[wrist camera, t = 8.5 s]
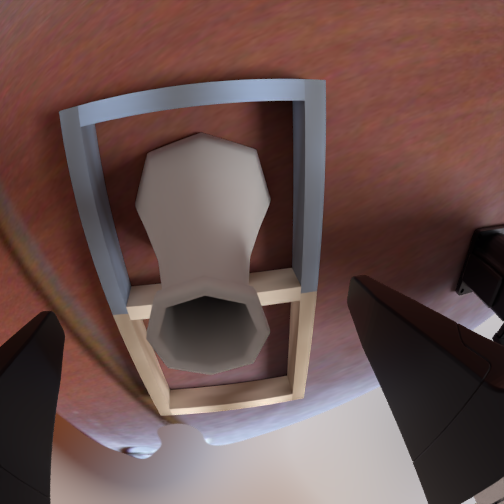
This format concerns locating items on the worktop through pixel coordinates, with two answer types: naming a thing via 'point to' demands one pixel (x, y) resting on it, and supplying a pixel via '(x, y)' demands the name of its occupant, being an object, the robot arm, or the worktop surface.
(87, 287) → the worktop surface
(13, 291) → the worktop surface
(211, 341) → the flask
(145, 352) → the caddy
